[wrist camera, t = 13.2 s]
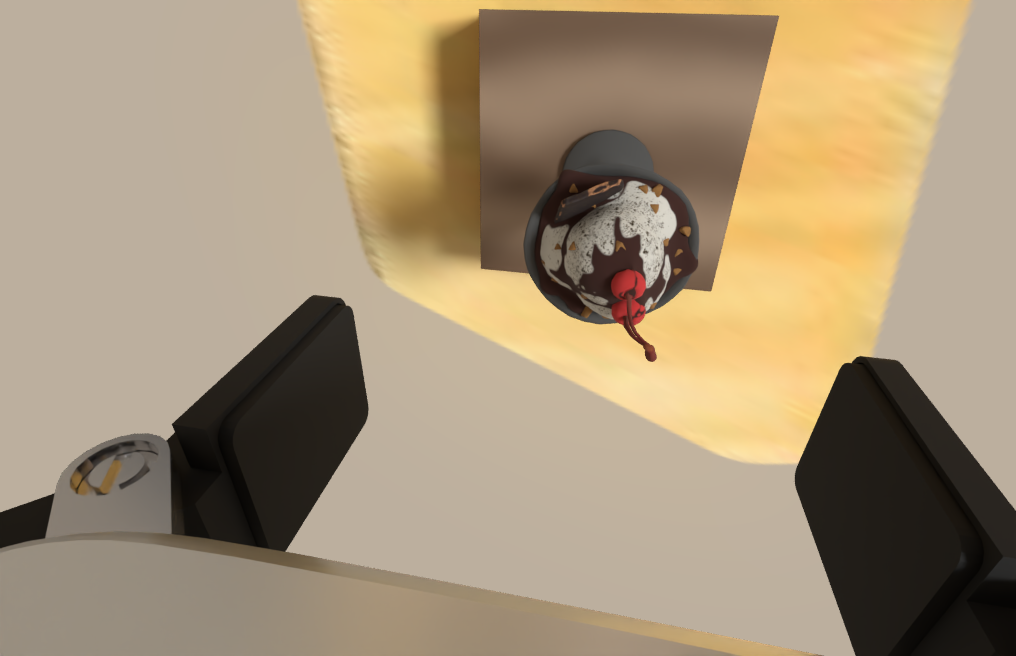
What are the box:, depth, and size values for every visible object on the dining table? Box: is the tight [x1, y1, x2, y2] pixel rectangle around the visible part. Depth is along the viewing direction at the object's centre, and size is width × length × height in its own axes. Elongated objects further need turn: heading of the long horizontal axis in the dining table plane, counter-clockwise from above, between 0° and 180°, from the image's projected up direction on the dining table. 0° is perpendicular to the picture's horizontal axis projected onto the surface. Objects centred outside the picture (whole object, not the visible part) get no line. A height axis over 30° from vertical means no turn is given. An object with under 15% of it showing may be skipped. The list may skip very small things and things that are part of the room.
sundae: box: [523, 129, 699, 362], centre depth 22 cm, size 7×7×15 cm
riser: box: [479, 9, 779, 291], centre depth 30 cm, size 14×14×4 cm
